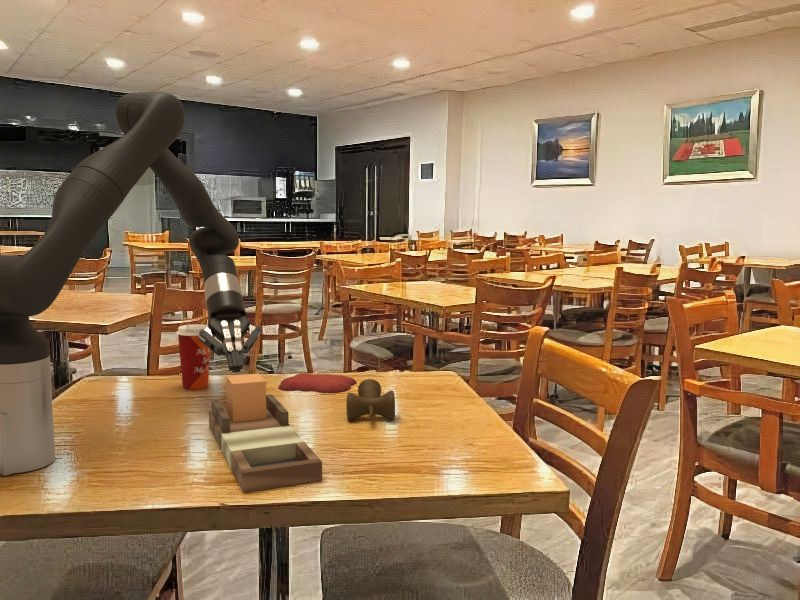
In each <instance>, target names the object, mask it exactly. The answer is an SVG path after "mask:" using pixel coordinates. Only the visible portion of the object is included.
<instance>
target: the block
mask: <svg viewBox="0 0 800 600" xmlns="http://www.w3.org/2000/svg"><path fill="white" fill-rule="evenodd" d="M225 378H226V410H227V413H228V415H229V417H230V418H231V420H232V421H233V422H239V421H248V420H257V419H266V395H267V381H266V380H265V379H264V377H263V376H261V375H260V373H249V374H239V375H226V377H225Z"/></svg>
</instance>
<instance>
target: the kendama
mask: <svg viewBox="0 0 800 600" xmlns="http://www.w3.org/2000/svg"><path fill="white" fill-rule="evenodd" d="M381 394H382V386H381V384H380V382H379V381H378V380H375V379H373V378H368V379H364V380H362V381H360V382H359V385H358V386H357V394H356V393H353V392H348V393H347V395H346V401H345V402H346V407H345V408H346V419H347V420H348V421H349V422H351V421H354V420H356V419H358V418H361V417H363V416H370V417H373V415H374V416H375V415H376V416H380V417H382V418H384V419H386V420H389V421H391V422H394V420H395V418H396V399H395V392H394V391H393V390H392V389H391V390H389V391H387V392H385V393H383V394H382V395H381Z"/></svg>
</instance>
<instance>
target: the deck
mask: <svg viewBox="0 0 800 600" xmlns="http://www.w3.org/2000/svg"><path fill="white" fill-rule="evenodd" d="M289 414H290V413H289V411H288V410H287V409H286V407H284V405H283V404H282V403H281V402H279V400H278V399H277V398H276V397H275V396H274V395H273V394H266V419H257V420H248V421H239V422H233V421H232V420H231V418H230V417H229V415H228V413H227V409H224V406H223V405H222V404H221V402H220V400H219V399H213V400H212V399H211V411H208V427H209V430H210V431H211V433H212V435H213V438H214V439H215V440H216V443H217V444H218V446H219V448H220V450H221V453H222V455H223V456H224V458H225V460H226V461H227V463H228V466H229V468H230V470H231V471H232V473H233V475H234V477H235V479H236V481H237V483H238V485H239V487H240V489H241V491H242V492H243V493H250V492H251V493H252V492H256V491H262V490H263V491H264V490H269V489H276V488H281V486H283V487H288V486H287V485H290V486H294V484H296V485H301V484H300V483H303V484H308V483H307V482H309V483H314V482H315V481H316V482H320V481H319V480H322V481H323V461H322V460H321V459H320V457H319V456H318V454H316V453H315V452H314V450H313V449H312V448H311V447H310V446H309V445H308V444H307V443H306V442H305V440H304V439H303V438H302V437H301V436H300V435H299V434H298V432H297V431H296V430H295V429H294V427H292V426H291V425H290V422H289V419H290V418H289V416H290V415H289Z"/></svg>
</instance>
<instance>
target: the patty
mask: <svg viewBox="0 0 800 600" xmlns="http://www.w3.org/2000/svg"><path fill="white" fill-rule="evenodd" d="M357 383H358V382H357V381H356V379H355V378H352V377H348V376H346V375H341V374H328V373H327V374H319V373H317V374H315V373H314V374H311V373H308V372H306V373H305V372H301V373H296V374H294V375H292V376H289V377H286V378H284V379H283V380H281V381H280V384H279V385H278V386H277V387H278V389H279V390H280V391H284V392H297V391H299V392H314V393H322V394H341V393H344V392H347V391H349V390H351V387H352V386H355V385H356V384H357Z"/></svg>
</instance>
